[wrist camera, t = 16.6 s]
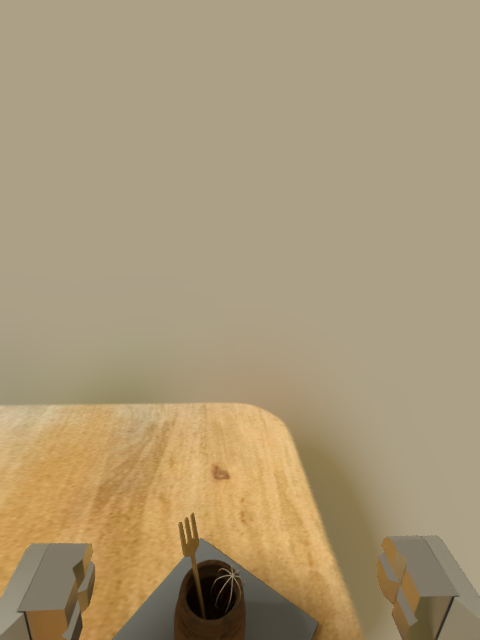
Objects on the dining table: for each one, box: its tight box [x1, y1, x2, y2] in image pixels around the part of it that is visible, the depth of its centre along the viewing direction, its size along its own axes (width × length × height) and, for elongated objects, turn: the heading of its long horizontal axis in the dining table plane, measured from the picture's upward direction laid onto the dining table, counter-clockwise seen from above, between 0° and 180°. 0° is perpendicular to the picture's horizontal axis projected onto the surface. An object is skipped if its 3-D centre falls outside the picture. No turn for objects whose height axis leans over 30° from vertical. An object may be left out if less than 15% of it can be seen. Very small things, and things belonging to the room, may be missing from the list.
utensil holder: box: [174, 513, 246, 640], centre depth 29 cm, size 6×6×12 cm
